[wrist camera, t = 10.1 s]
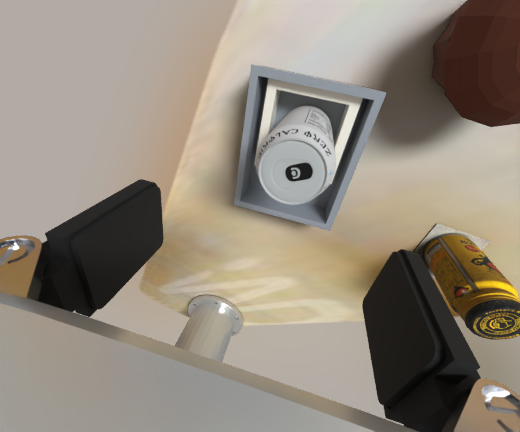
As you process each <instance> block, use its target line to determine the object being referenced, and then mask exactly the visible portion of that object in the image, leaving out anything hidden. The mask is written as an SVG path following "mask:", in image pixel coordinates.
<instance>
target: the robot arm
mask: <svg viewBox="0 0 520 432" xmlns="http://www.w3.org/2000/svg"><path fill="white" fill-rule="evenodd" d="M45 235H46V237H47V241H46V242H44V243H42V242H41V241H40V240H39V239H38V238H35V237H32V236H13V237H7V238H3V239H0V432H520V395H518V394H517V393H516V392H514V391H513V390H512V389H510V388H509V387H507V386H506V385H504V384H502V383H500V382H498V381H495V380H492V379H487V378H483V379H481V378H480V376H479V374H478V372H477V369H479V368H480V366H479V364H478V363H477V360H476V358H475V357H474V355H473V353H472V351H471V349H470V347H469V345H468V344H467V342H466V340H465V338H464V336H463V334H462V332H461V330H460V329H459V327H458V325H457V323H456V321H455V319H454V317H453V316H452V314H451V312H450V310H449V308H448V306H447V304H446V303H445V301H444V299H443V297H442V295H441V293H440V291H439V290H438V288H437V286H436V284H435V282H434V280H433V278H432V276H431V275H430V273H429V271H428V269H427V267H426V265H425V263H424V262H423V260H422V258H421V256H420V255H419V254H417V253H414V252H410V251H406V250H403V249H401V250H399V251H398V252H393V253H392V254H391V256H390V257H389V259H388V261H387V262H386V264H385V265H384V267H383V269H382V270H381V272H380V274H379V275H378V277H377V278H376V280H375V282H374V283H373V285H372V286H371V288H370V290H369V291H368V293H367V294H366V296H365V298H364V300H363V313H364V319H365V325H366V331H367V337H368V342H369V349H370V354H371V360H372V366H373V372H374V378H375V384H376V390H377V396H378V400H379V402H380V404H382V405H384V410H385V416H386V418H388V419H390V420H393V421H396V422H399V423H402V424H404V426H402V425H399V424H396V423H394V422H391V421H388V420H385V419H382V418H380V417H377V416H374V415H372V414H369V413H366V412H364V411H361V410H358V409H355V408H352V407H349V406H346V405H344V404H341V403H338V402H335V401H332V400H329V399H326V398H323V397H320V396H318V395H314V394H312V393H309V392H306V391H303V390H300V389H297V388H295V387H292V386H289V385H286V384H283V383H280V382H277V381H274V380H272V379H269V378H266V377H263V376H260V375H257V374H254V373H251V372H248V371H245V370H242V369H239V368H236V367H234V366H231V365H228V364H225V363H222V360H223V358H224V355H225V352H226V349H227V346H228V344H229V341H230V338H231V336H233V335H236V334H237V333H239V331H240V330H241V328H242V325H243V318H242V315H241V314H240V312H239V311H238V309H237V308H236V307H235V306H234V305H232V304H231V303H230V302H228V301H226V300H224V299H222V298H219V297H216V296H211V295H202V296H198V297H196V298H194V299H193V300H192V301H191V303H190V304H189V306H188V314H189V317H190V319H189V321H188V323H187V324H186V326H185V328H184V330H183V332H182V334H181V336H180V337H179V339H178V341H177V343H176V345H175V346H172V345H169V344H166V343H163V342H160V341H157V340H154V339H151V338H148V337H145V336H142V335H139V334H136V333H133V332H130V331H127V330H124V329H121V328H118V327H115V326H112V325H109V324H106V323H103V322H100V321H97V320H94V319H92V318H89V317H90V316H91V315H92V314H93V313H94V312H95V311H96V310H97V309H101V308H103V307H104V306H105V305H106V304H107V303H108V302H109V301H110V300H111V299H112V298H113V297H114V296H115V295H116V294H117V292H118V291H119V290H120V289H121V288H122V287H123V286H124V285H125V284H126V283H127V282H128V281H129V280H130V279H131V278H132V277H133V275H134V274H135V273H136V272H137V271H138V270H139V269H140V268H141V267H142V266H143V265H144V264H145V263H146V262H147V261H148V260H149V259H150V258H151V257H152V256H153V254H154V253H155V252H156V251H157V250H158V249H159V248H160V247H161V245H162V243H163V224H162V207H161V191H160V188H159V187H157V185H156V183H154V182H149V181H146V180H138V181H136V182H135V183H133V184H131V185H129V186H128V187H126V188H124V189H122V190H121V191H119V192H117V193H115V194H113V195H112V196H110V197H108V198H106V199H105V200H103V201H101V202H99V203H98V204H96V205H94V206H92V207H90V208H89V209H87V210H85V211H83V212H82V213H80V214H78V215H77V216H75V217H73V218H71V219H69V220H68V221H66V222H64V223H62V224H61V225H59V226H57V227H55V228H54V229H52V230H50V231H48V232H47V233H45ZM74 310H75V311H76V312H77V313H79V314H82V315H79V314H76V313H73V311H74ZM83 315H85V316H83ZM86 316H88V317H86Z"/></svg>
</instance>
